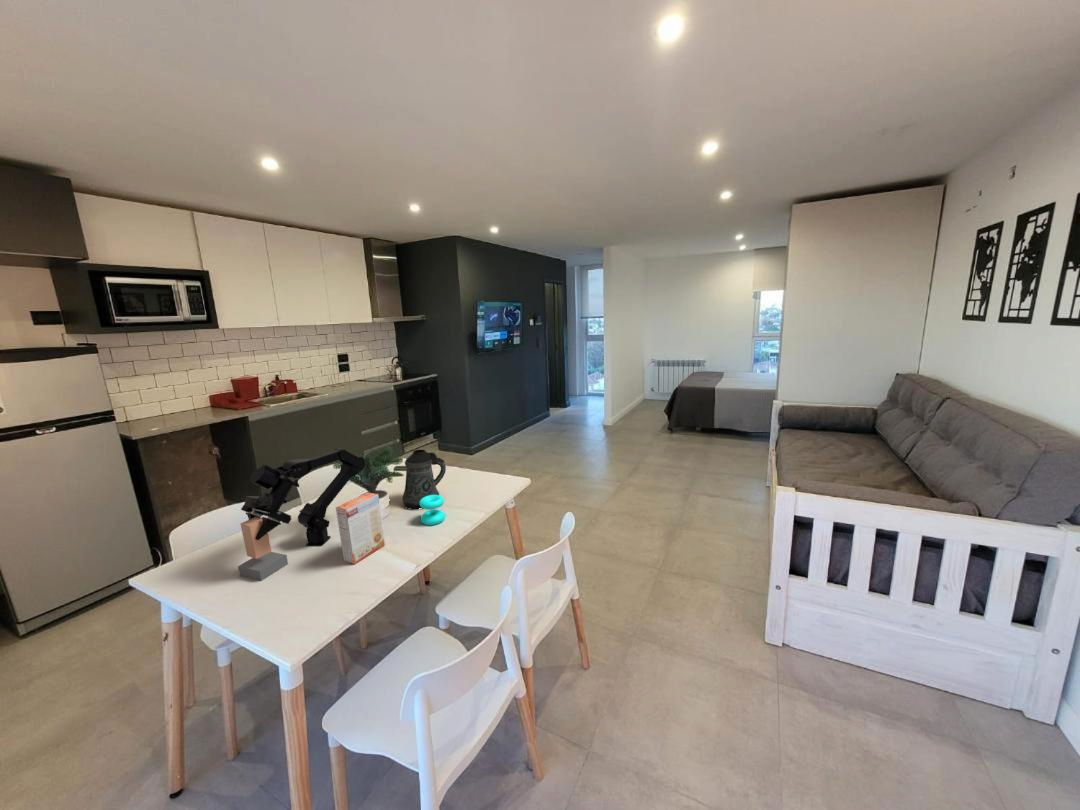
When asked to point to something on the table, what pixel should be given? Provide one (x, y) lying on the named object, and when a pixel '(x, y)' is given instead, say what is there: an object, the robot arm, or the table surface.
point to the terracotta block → (249, 534)
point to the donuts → (432, 515)
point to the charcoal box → (263, 566)
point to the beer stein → (421, 477)
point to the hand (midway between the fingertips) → (251, 538)
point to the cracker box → (360, 527)
